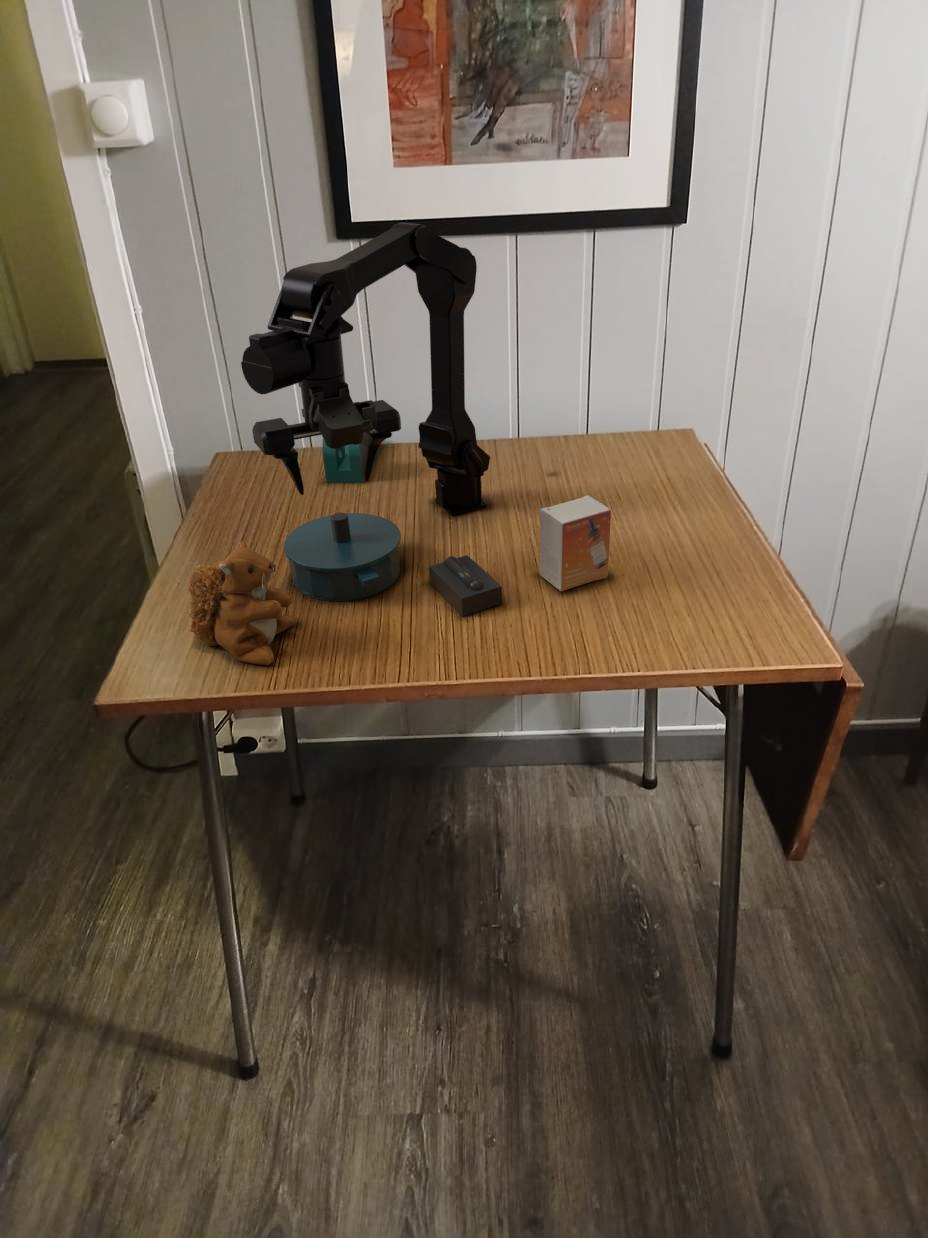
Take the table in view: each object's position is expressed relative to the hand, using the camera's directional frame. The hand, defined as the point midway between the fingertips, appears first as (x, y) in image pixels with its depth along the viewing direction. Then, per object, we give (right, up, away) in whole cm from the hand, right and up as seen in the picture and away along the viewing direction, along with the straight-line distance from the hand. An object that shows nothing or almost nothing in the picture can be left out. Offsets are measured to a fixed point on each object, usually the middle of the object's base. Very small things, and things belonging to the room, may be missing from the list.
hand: (334, 486), depth 126 cm
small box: (+33, -12, +3) cm, 35 cm away
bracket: (-2, +10, +41) cm, 42 cm away
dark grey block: (+18, -14, +1) cm, 23 cm away
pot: (+1, -11, +7) cm, 14 cm away
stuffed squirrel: (-11, -21, -6) cm, 24 cm away
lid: (+1, -7, +4) cm, 9 cm away
